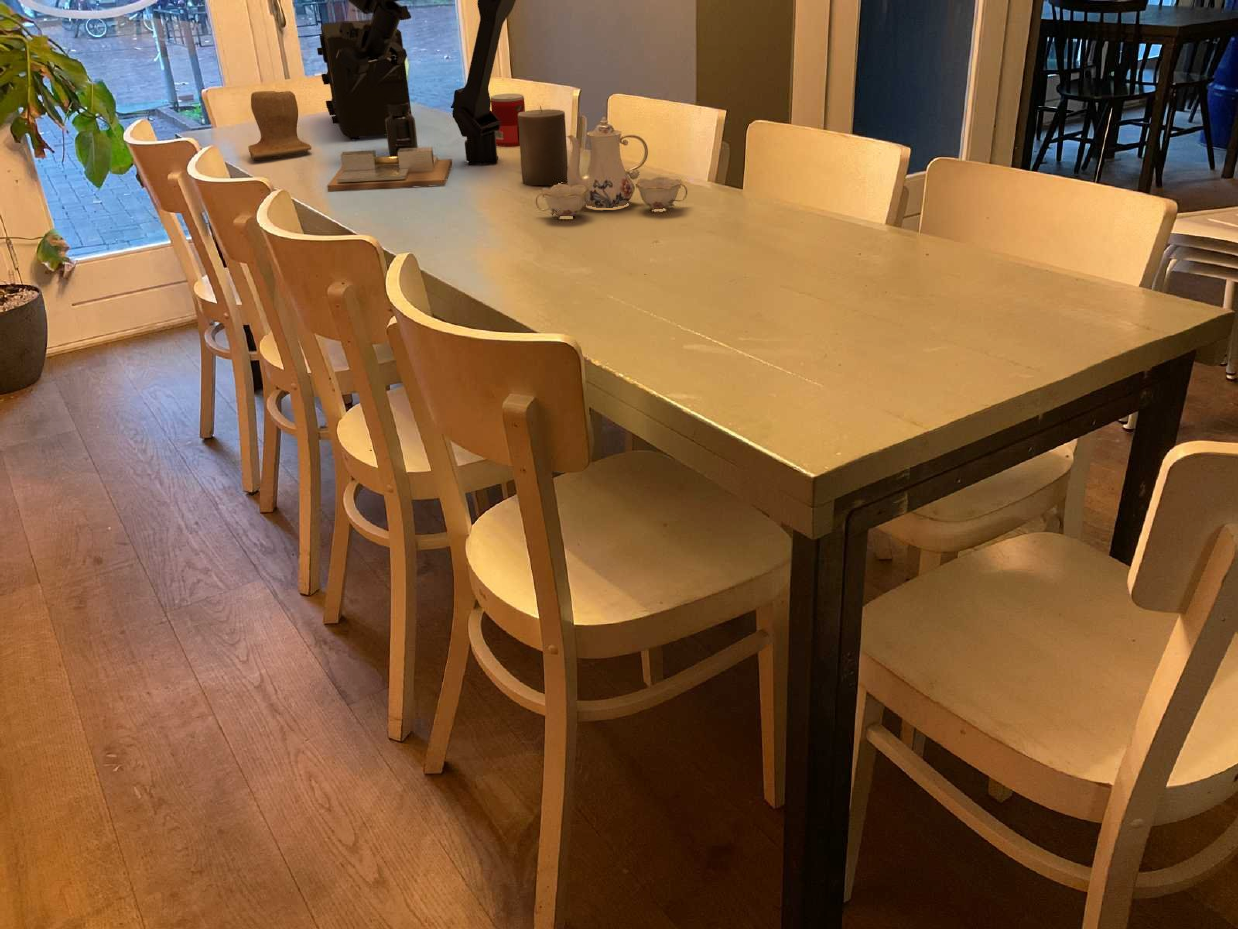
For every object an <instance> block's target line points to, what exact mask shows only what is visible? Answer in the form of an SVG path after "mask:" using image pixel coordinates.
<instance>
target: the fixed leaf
mask: <svg viewBox="0 0 1238 929" xmlns="http://www.w3.org/2000/svg"><path fill="white" fill-rule="evenodd" d="M433 150H434V149H433V146H427V147H424V146H423V147H418V148H403V149H399V150H398V160H399V164H386V165H378V170H382V169H403V168H409V173H415V172H433V171H434V168H435V166H436V164H437V161H438V160H439V159H438V156H437V155H434V151H433Z"/></svg>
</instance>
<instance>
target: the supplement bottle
mask: <svg viewBox="0 0 1238 929" xmlns="http://www.w3.org/2000/svg"><path fill="white" fill-rule="evenodd" d="M387 105H388V112H389V115H388V116H387V117H386V119H385V126H386V134H387V135H386V140H387V148H388V150H387V151H388V157H390V156H398V150H399V149H403V148H419V146H418V136H417V128H416V126H417V125H416V120H415V117H414V116H413V115H411V114H412V113H411V114H409V111H410V109H409V103H408V102H391V103H388V104H387Z"/></svg>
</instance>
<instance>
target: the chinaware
mask: <svg viewBox="0 0 1238 929" xmlns="http://www.w3.org/2000/svg"><path fill="white" fill-rule="evenodd" d="M586 134H587V137H588V140H589V146H590V157H589V158H590V159H589V163H588V164H589V165H588V169H587V172H586V174H585V175H581V172H580V166H581V165H580V164H581V145H580V144H581V143H580V141H579V140H578V138H577V137H576V136H574V135H572V134H570V135H566V138H568V140H569V141H570V142H571V146H572V149H571V152H570V153H571V154H570V159H569V162H568V170H567V180H568V181H567V184H566V183H563V184H557V185H552V186H551V187H549V188H547V187H542V188H541V189H540V192H541V193H539V194H538V195H537V196H536V198H535V205H536V208H538V210H540V211H542V212H544V211H551V212H550V213H549V214H554V213H555V214H554V215H557V216H559V217H560V216H571V215H572V216H575V215H576V214H577V213H579V212H580V211H581V209H582V207H583V206H584V203H585V205H587V206H592V207H596V208H613V207H618V206H624V205H626V204H627V203H628V202H630V200H631V198H632V197H633V194H634V193H635V190H636V188H637V189H638V191H639V194H640V198H641V200H642V201H643V203H644V204H645V205H646V206H648V207H649V208H650V209H653V208H654V209H663V208H665V209H667V208H668V207H672V206H673V207H674V206H675V203H674V202H682V201H684V200H686V198H687V195H688V189H687V186H686V185H684V184H682V183H683V182H682V179H680V178H675V179H670V178H669V177H667V176H657V177H654V178H652V179H647V178H640V179H639V180H637V179H638V178H639V177H640V171H639V169H640V168H641V167H642V166H643V165H644V164H645V162H646V161H647V159H648V156H649V148H648V145H647V142H646V141H645V140H644V139H643V138H642V137H640V135H636V134H624V135H623V136H622V134H623V132H622V130H618V129H617V130H616V129H615V128H614V127H613V125H612V124H610V123H609V121H608V119H607V118H606V117H605V116H603V117H602V118H601V120H600V121H599V124H597V125H596V126H595V128H594V130H592V131H589V132H587V133H586ZM626 138H627V139H628V138H631V139H632V138H633V139H636V140H638V141H639V142H640V143H641V144H642V145H643V149H644V155H643V158H642V159H641V161H640V162H639V163H638V164H637V165H636V166H634V167H630V168H628V169H627V170H626V169H625V167H624V164H623V160H622V157H621V148H620V144H621V145H623V146H624V147H626V146H628V145H629V140H627V139H626ZM633 180H637V181H636V182H637V183H635V184H634V183H633ZM682 187H683V188H684V191H685V194H684V196H683V198H681V199H677V197H678V193H679V190H680V189H681V188H682ZM540 196H541V197H542V198H543V199H545V202H546V205H547V207H548V208H545V209H544V208H542V207H540V205H539V203H538V199H539V197H540Z"/></svg>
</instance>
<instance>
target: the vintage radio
mask: <svg viewBox="0 0 1238 929" xmlns="http://www.w3.org/2000/svg"><path fill="white" fill-rule="evenodd" d="M347 21H348V22H351V21H352V20H347ZM355 21H356V22H360V23H363V24H370V21H371V19H363V20H355ZM341 23H342V21H334V22H333V21H332V22H324V23H323V24H321V26H320V33H319V41H320V47H316V48H317V49H316V50H317V56H322V59H323V62H324V64H326V69H327V73H321V75H320V76H321V81H322V82H323V85H324V86H325V85H329V88H330V93H331V100H330V99H329V100H325V105H326V109H327V112H328V113H329V114H328V115H329V116H331V122H332V125H334V124H336V125H337V124H338V126H339V129H340V132H341V134H342V135H343V136H344V137H346V138H348V139H349V140H350V141H355V140H360V138H365V137H366V138H367V137H375V136H376V137H377V136H387V134H386V126H385V119H386V117H387V116H388V115H389V112H388V105H387V104H388V103H391V102H408V103H409V109H410V111H409V114H411V115H412V107H411V99H410V98H411V97H410V92H409V91H410V90H409V84H408V76H407V68H406V61H405V62H404V63H401V65H400V66H398V67H397V68H396V69H394V70H393V71H392V72H391V73H390V74H389V75H387V76H386V77H385V78H384V79H383V80H382V81H381V82H380V83H378V84H377V85H376V86H374V85H373V84H372V78H373V74H374V70H375V66H376V62H377V60H376V61H371V62H369V67H368V69H367V70H366V72H367V73H366V75H365V76H364V77H363V78H362V80H361V81H360V82H359V83H358V85H357V86H356V87H355V89H354V90H353V91H352V92H349V91H348V90H347V80H346V68H345V66H344V65H343V64H342V63H341V62H340V61H339V60H338V59H337V58H336V56H337V53H338V50H339V49H342V48H346V47H351V46H353V47H354V48H356V49H357V50H358V51H359V52H363V50H362V49H363V48H361V47H358V46H357V45H356V42H357V41H353V40H350V39H344V38H343V36H341V35H340V33H339V28H340V25H341ZM395 35H396V36H397V37H398V38H397V41H395V42H396V43H397V44H399V45H400V46H401V47H403V48H404V44H403V35H402V32H401V30H400V29H398V28H397V30H396V32H395ZM412 116H413V115H412Z"/></svg>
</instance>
